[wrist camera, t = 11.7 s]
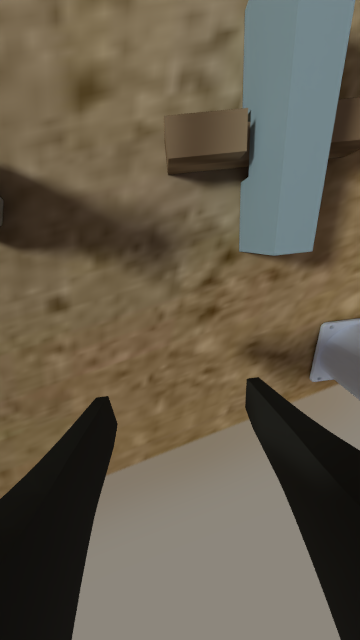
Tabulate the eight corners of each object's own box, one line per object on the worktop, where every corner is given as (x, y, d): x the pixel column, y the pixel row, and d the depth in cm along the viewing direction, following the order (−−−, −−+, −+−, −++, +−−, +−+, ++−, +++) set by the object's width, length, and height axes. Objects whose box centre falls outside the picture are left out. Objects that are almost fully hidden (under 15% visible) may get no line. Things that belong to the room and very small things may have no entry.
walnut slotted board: (350, 123, 14) (395, 93, 11) (343, 156, 15) (384, 137, 12) (164, 141, 14) (163, 115, 11) (168, 174, 14) (168, 158, 12)
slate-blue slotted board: (283, 7, 11) (390, -209, 6) (265, 248, 17) (312, 251, 11) (245, 11, 11) (318, -205, 6) (239, 251, 17) (274, 255, 11)
